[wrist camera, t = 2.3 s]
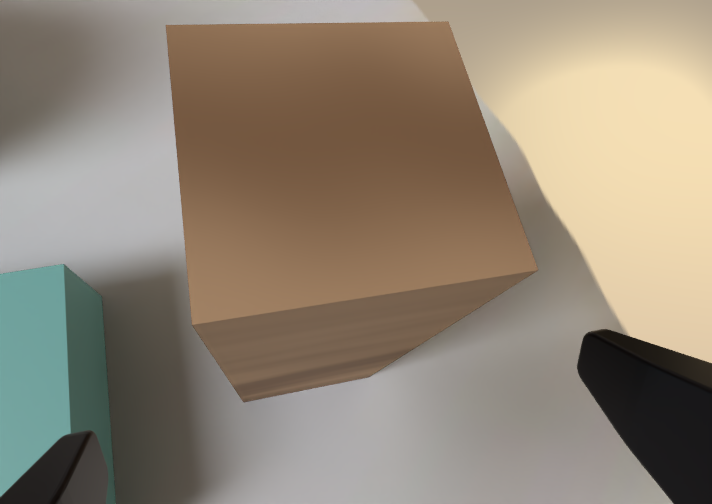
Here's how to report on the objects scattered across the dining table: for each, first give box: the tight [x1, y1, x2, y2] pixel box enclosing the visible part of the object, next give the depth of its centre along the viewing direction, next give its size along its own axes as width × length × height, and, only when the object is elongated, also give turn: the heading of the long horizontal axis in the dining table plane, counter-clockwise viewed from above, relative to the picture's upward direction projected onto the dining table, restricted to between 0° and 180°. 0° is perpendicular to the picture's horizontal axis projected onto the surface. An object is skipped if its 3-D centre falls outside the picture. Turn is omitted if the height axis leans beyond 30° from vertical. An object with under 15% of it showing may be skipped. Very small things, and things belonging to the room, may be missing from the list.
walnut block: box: [166, 22, 538, 402], centre depth 13 cm, size 5×5×13 cm
